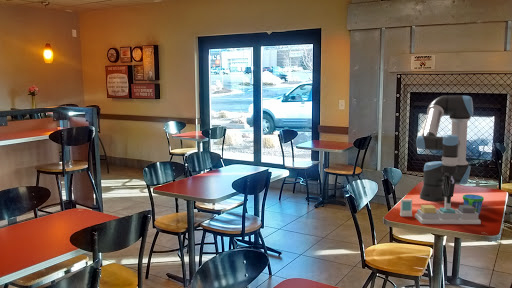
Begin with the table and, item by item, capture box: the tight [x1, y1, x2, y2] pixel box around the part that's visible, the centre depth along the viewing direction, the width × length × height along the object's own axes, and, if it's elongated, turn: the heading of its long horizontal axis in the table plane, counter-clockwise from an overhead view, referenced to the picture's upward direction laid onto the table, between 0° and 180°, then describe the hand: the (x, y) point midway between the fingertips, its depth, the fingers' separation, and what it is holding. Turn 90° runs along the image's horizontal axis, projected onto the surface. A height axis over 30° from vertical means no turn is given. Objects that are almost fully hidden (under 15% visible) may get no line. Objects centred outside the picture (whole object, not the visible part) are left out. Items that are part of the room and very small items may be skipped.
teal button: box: [439, 207, 455, 213], centre depth 249 cm, size 6×6×4 cm
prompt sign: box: [399, 198, 413, 217], centre depth 258 cm, size 3×6×9 cm, turn 87°
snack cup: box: [462, 194, 485, 215], centre depth 260 cm, size 16×10×10 cm
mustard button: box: [420, 204, 437, 213], centre depth 249 cm, size 6×6×4 cm
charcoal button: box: [458, 204, 475, 213], centre depth 248 cm, size 6×6×4 cm
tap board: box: [414, 208, 482, 225], centre depth 249 cm, size 12×30×5 cm, turn 87°
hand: (447, 208), depth 248 cm, fingers closed
